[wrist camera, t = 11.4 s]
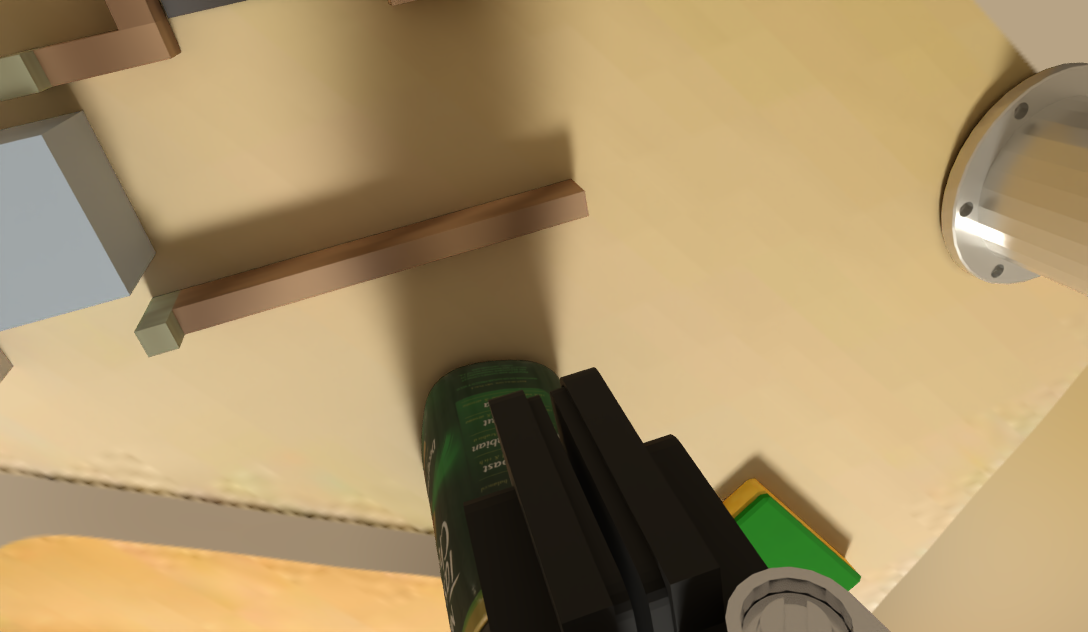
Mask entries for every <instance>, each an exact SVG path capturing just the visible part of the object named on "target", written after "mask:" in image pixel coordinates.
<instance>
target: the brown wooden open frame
mask: <svg viewBox="0 0 1088 632" xmlns="http://www.w3.org/2000/svg"><path fill="white" fill-rule="evenodd" d="M241 1H246V0H161V2H162V4H163V7H164V9H165V11H166V14H167V16H168V18H172V17H176V16H180V15H185V14H189V13H193V12H198V11H202V10H206V9H211V8H215V7H220V6H224V5H228V4H233V3H237V2H241ZM411 1H415V0H388V3H389V4H390V5H392V6H394V5H398V4H403V3H407V2H411ZM105 2H106V4H107V6H108V8H109V11H110V13H111V15H112V17H113V19H114V21H115V23H116V25H117V28H118V30H114V31H110V32H106V33H101V34H97V35H92V36H88V37H84V38H79V39H75V40H71V41H66V42H62V43H58V44H53V45H49V46H44V47H40V48H36V49H31V50H27V51H23V52H18V53H15V54H11V55H8V56H4V57H1V58H0V100H1V101H5V100H9V99H13V98H17V97H22V96H26V95H30V94H34V93H38V92H41V91H44V90H46V89H48V88H50V87H53V86H57V85H61V84H66V83H70V82H74V81H78V80H82V79H87V78H91V77H95V76H99V75H103V74H108V73H112V72H116V71H120V70H125V69H129V68H133V67H137V66H141V65H146V64H150V63H154V62H158V61H162V60H167V59H171V58H173V57H174V56H176V55H178V54H179V53H181V50H180V48H179V45H178V43H177V41H176V39H175V36H174V34H173V32H172V29H171V27H170V25H169V22H168V20H167V18H166V15H165V13H164V11H163V9H162V6H161V4H160V2H159V0H105ZM587 216H589V213H588V208H587V202H586V196H585V191H584V190H583V189H582V188H581V187H580V186H578V185H577V184H576V183H575V182H574V181H573V180H572V179H569V180H566V181H562V182H559V183H555V184H552V185H548V186H545V187H541V188H538V189H534V190H531V191H527V192H524V193H520V194H517V195H513V196H510V197H506V198H503V199H499V200H496V201H492V202H489V203H485V204H482V205H478V206H474V207H471V208H467V209H464V210H460V211H457V212H453V213H450V214H446V215H443V216H439V217H436V218H432V219H429V220H425V221H422V222H418V223H415V224H411V225H408V226H404V227H401V228H397V229H394V230H390V231H387V232H383V233H380V234H376V235H373V236H369V237H365V238H362V239H358V240H355V241H351V242H348V243H344V244H341V245H337V246H334V247H330V248H327V249H323V250H320V251H316V252H313V253H309V254H306V255H302V256H299V257H295V258H292V259H288V260H285V261H281V262H278V263H274V264H271V265H267V266H263V267H260V268H256V269H253V270H249V271H246V272H242V273H239V274H235V275H232V276H228V277H225V278H221V279H218V280H214V281H211V282H207V283H204V284H200V285H197V286H193V287H190V288H186V289H183V290H179V291H176V292H172V293H169V294H165V295H162V296H158V297H154V298H152V300H151V301H150V303H149V305H148V307H147V309H146V311H145V313H144V315H143V317H142V318H141V320H140V322H139V324H138V326H137V328H136V330H135V332H134V333H135V334H136V336H137V338H138V340H139V341H140V343H141V345H142V347H143V348H144V350H145V352H146V354H147V355H148V357H152V356H155V355H158V354H162V353H165V352H168V351H172V350H175V349H179V348H180V345H181V343H182V340H183V338H184V335H185V334H188V333H192V332H195V331H198V330H202V329H205V328H209V327H212V326H215V325H219V324H222V323H226V322H229V321H232V320H236V319H239V318H243V317H246V316H249V315H253V314H256V313H260V312H263V311H267V310H270V309H273V308H277V307H280V306H284V305H287V304H290V303H294V302H297V301H301V300H304V299H307V298H311V297H314V296H318V295H321V294H324V293H328V292H331V291H335V290H338V289H341V288H345V287H348V286H352V285H355V284H358V283H362V282H365V281H369V280H372V279H376V278H379V277H382V276H386V275H389V274H393V273H396V272H399V271H403V270H406V269H410V268H413V267H416V266H420V265H423V264H427V263H430V262H433V261H437V260H440V259H444V258H447V257H450V256H454V255H457V254H461V253H464V252H467V251H471V250H474V249H478V248H481V247H485V246H488V245H491V244H495V243H498V242H502V241H505V240H508V239H512V238H515V237H519V236H522V235H525V234H529V233H532V232H536V231H539V230H542V229H546V228H549V227H553V226H556V225H559V224H563V223H566V222H570V221H573V220H576V219H580V218H583V217H587Z"/></svg>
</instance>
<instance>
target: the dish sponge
mask: <svg viewBox="0 0 1088 632" xmlns="http://www.w3.org/2000/svg"><path fill="white" fill-rule="evenodd" d="M722 503H723V504H724V505H725V507H726V508H727V510H728V511H729V513H730V514H731V515H732V517H733V518H734V520H735V521H736V523H737V524H738V525H739V527H740V528H741V530H742V531H743V533H744V534H745V535H746V537H747V538H748V540H749V541H750V543H751V544H752V545H753V547H754V548H755V550H756V551H757V553H758V554H759V555H760V557H761V558H762V560H763V561H764V563H765V564H766V565H767V567H768V568H779V567H795V568H801V569H807V570H812V571H814V572H817V573H819V574H821V575H824V576H826V577H828V578H831V579H832V580H834V581H835V582H836V583H838V584H839V585H840V586H842V587H843V588H845V589H846V590H847V591H849V590H850V589H852V588H853V587H854V586H855V585H856V584H857V583H859V582H860V579H861V576H860V575H859V574H858V573H857V572H856V571H855V569H854V568H853V567H852V566H851V565H850V564H849V563H848V561H847V560H846V559H845V558H844V557H843V556H842V555H841V554H839V553H838V552H837V551H836V550H835V549H834V548H833V547H832V546H830V545H829V544H828V543H827V542H826V541H825V540H824V539H823V538H821V537H820V536H819V535H818V534H817V533H816V532H815V531H814V530H812V529H811V528H810V527H809V526H808V525H807V524H806V523H805V522H803V521H802V520H801V519H800V518H799V517H798V516H797V515H795V514H794V513H793V512H792V511H791V510H790V509H789V508H788V507H786V506H785V505H784V504H783V503H782V502H781V501H780V500H779V499H777V498H776V497H775V496H774V495H773V494H772V493H771V492H770V491H768V490H767V489H766V488H765V487H764V486H763V485H762V484H761V483H759V482H758V481H757V480H756V479H755V478H754V479H748V480H747V481H746V482H745V483H744V484H742V485H741V486H740V487H739V488H738V489H737V490H736V491H735V492H734V493H732V494H731V495H730V496H729V497H728V498H727V499H726V500H725V501H723V502H722Z"/></svg>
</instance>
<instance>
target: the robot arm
mask: <svg viewBox="0 0 1088 632" xmlns="http://www.w3.org/2000/svg"><path fill="white" fill-rule="evenodd" d="M941 221H942V234H943V238H944V242H945V246H946V248H947V250H948V252H949V254H950V256H951V258H952V259H953V261H954V262H955V263H956V264H957V265H958V266H959V267H960V268H961V269H962V270H964V271H966V272H967V273H969V274H971V275H973V276H975V277H977V278H979V279H981V280H984V281H986V282H989V283H993V284H1006V285H1008V284H1014V283H1021V282H1025V281H1028V280H1031V279H1034V278H1037V277H1040V276H1043V277H1045V278H1047V279H1049V280H1052V281H1054V282H1056V283H1059V284H1061V285H1063V286H1065V287H1068V288H1070V289H1072V290H1074V291H1077V292H1079V293H1081V294H1084V295H1086V296H1088V64H1087V63H1069V64H1062V65H1059V66H1055V67H1051V68H1048V69H1045V70H1043V71H1041V72H1039V73H1037V74H1035V75H1033V76H1031V77H1029V78H1027V79H1025V80H1024V81H1023V82H1021V83H1020V84H1019V85H1017V86H1016V87H1014V88H1013V89H1012V90H1010V91H1009V92H1007V93H1006V94H1005V95H1004V96H1003V97H1002V98H1001V99H1000V100H999V101H998V102H997V103H996V104H995V105H994V106H993V107H992V108H991V109H990V110H989V111H988V112H987V113H986V114H985V116H984V117H983V118H982V119H981V120H980V122H979V123H978V124H977V125H976V127H975V128H974V129H973V131H972V132H971V134H970V135H969V137H968V139H967V140H966V142H965V143H964V145H963V147H962V148H961V150H960V152H959V154H958V156H957V158H956V161H955V163H954V165H953V167H952V169H951V172H950V175H949V178H948V182H947V185H946V188H945V191H944V197H943V204H942V211H941ZM560 385H561V388H558V389H555V390H551V391H550V399H551V403H552V408H553V412H554V416H555V421H556V425H557V429H558V434H559V437H558V435H557V432H556V430H555V428H554V426H553V423H552V421H551V419H550V417H549V415H548V412H547V410H546V408H545V406H544V404H543V401H542V399H541V397H540V395H535V396H532V397H529V398H526V396H525V393H524V391H523V390H519V391H516V392H512V393H509V394H506V395H503V396H499V397H496V398H493V399H490V400H488V403H489V407H490V410H491V414H492V417H493V421H494V424H495V428H496V431H497V435H498V438H499V442H500V445H501V449H502V452H503V456H504V459H505V463H506V466H507V470H508V473H509V477H510V480H511V484H512V487H509V488H506V489H503V490H499V491H496V492H493V493H490V494H487V495H484V496H481V497H478V498H475V499H472V500H469V501H466V502H463V506H464V512H465V517H466V521H467V526H468V530H469V535H470V540H471V544H472V549H473V553H474V558H475V563H476V567H477V572H478V576H479V581H480V586H481V590H482V595H483V599H484V604H485V609H486V613H487V618H488V622H489V627H490V632H890V631H889V630H888V629H887V628H886V627H885V626H884V625H883V624H882V623H881V622H880V621H879V620H878V619H877V618H876V617H875V616H874V615H873V614H872V613H871V612H870V611H868V610H867V609H866V608H865V607H864V606H863V605H862V604H861V603H860V602H859V601H858V600H857V599H856V598H855V597H854V596H853V595H852V594H851V593H850V592H849V591H847V590H846V589H845V588H843V587H842V586H840V585H839V584H838V583H836V582H835V581H834V580H832V579H831V578H828V577H826V576H824V575H821V574H819V573H817V572H814V571H812V570H807V569H801V568H795V567H779V568H768V567H767V565H766V564H765V563H764V561H763V560H762V558H761V557H760V555H759V554H758V553H757V551H756V550H755V548H754V547H753V545H752V544H751V543H750V541H749V540H748V538H747V537H746V535H745V534H744V533H743V531H742V530H741V528H740V527H739V525H738V524H737V523H736V521H735V520H734V518H733V517H732V515H731V514H730V513H729V511H728V510H727V508H726V507H725V505H724V504H723V503H722V501H721V500H720V498H719V497H718V496H717V494H716V493H715V491H714V490H713V488H712V487H711V486H710V484H709V483H708V481H707V480H706V478H705V477H704V476H703V474H702V473H701V471H700V470H699V468H698V467H697V466H696V464H695V463H694V461H693V460H692V458H691V457H690V456H689V454H688V453H687V451H686V450H685V448H684V447H683V446H682V444H681V443H680V442H679V440H678V439H677V438H676V437H675V436H673V435H671V434H670V435H667V436H664V437H661V438H658V439H655V440H652V441H648V442H645V443H643V442H642V441H641V439H640V437H639V436H638V434H637V433H636V431H635V429H634V428H633V426H632V425H631V423H630V421H629V420H628V418H627V417H626V415H625V413H624V412H623V410H622V408H621V407H620V405H619V404H618V402H617V400H616V399H615V397H614V396H613V394H612V392H611V391H610V389H609V388H608V386H607V384H606V383H605V381H604V380H603V378H602V376H601V375H600V373H599V372H598V370H597V369H596V368H595V367H593V368H590V369H586V370H583V371H580V372H577V373H574V374H570V375H567V376H564V377H561V378H560ZM559 438H560V439H559Z"/></svg>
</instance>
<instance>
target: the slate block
mask: <svg viewBox="0 0 1088 632" xmlns="http://www.w3.org/2000/svg"><path fill="white" fill-rule="evenodd" d="M155 254H156V252H155V250H154V248H153V246H152V244H151V242H150V240H149V238H148V236H147V235H146V233H145V231H144V229H143V227H142V225H141V223H140V221H139V219H138V217H137V215H136V213H135V211H134V209H133V207H132V205H131V203H130V201H129V200H128V198H127V196H126V194H125V192H124V190H123V188H122V186H121V184H120V182H119V180H118V178H117V176H116V174H115V172H114V170H113V168H112V166H111V164H110V163H109V161H108V159H107V157H106V155H105V153H104V151H103V149H102V147H101V145H100V143H99V141H98V139H97V137H96V135H95V133H94V131H93V129H92V128H91V126H90V124H89V122H88V120H87V118H86V116H85V114H84V112H83V111H79V112H74V113H70V114H66V115H62V116H57V117H53V118H49V119H45V120H40V121H36V122H32V123H28V124H23V125H19V126H15V127H11V128H7V129H2V130H0V331H3V330H7V329H11V328H14V327H18V326H22V325H25V324H29V323H32V322H36V321H40V320H43V319H47V318H51V317H54V316H58V315H61V314H65V313H69V312H72V311H76V310H80V309H83V308H87V307H90V306H94V305H98V304H101V303H105V302H109V301H112V300H116V299H120V298H123V297H127V296H130V295H131V293H132V291H133V290H134V288H135V287H136V285H137V283H138V282H139V280H140V278H141V277H142V275H143V273H144V272H145V270H146V268H147V267H148V265H149V264H150V262H151V260H152V259H153V257H154V255H155Z"/></svg>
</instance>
